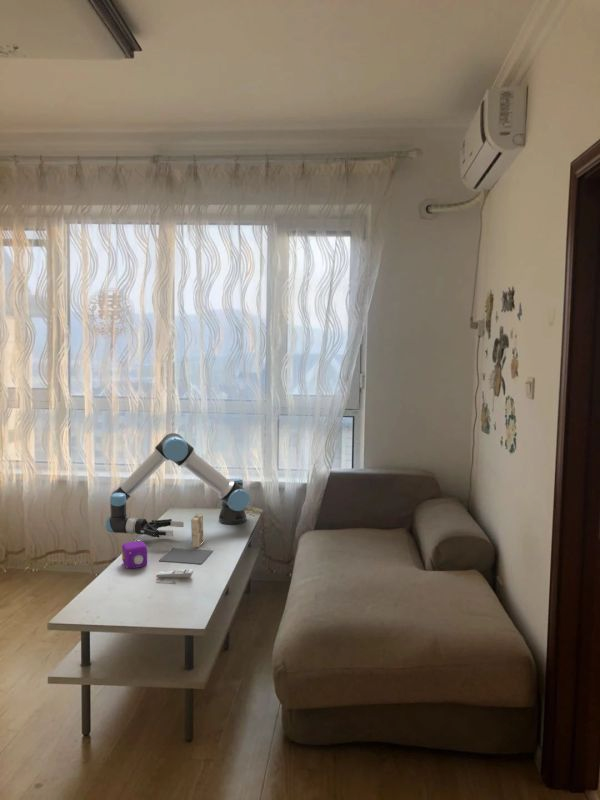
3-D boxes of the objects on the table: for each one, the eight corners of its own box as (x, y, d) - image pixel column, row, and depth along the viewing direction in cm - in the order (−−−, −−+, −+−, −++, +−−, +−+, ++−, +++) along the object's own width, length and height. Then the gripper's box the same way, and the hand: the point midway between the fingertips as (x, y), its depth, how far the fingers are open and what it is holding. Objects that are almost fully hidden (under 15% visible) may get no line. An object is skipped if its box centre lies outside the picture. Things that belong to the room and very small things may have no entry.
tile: (197, 541, 286) (197, 514, 285) (203, 542, 286) (202, 514, 284) (191, 547, 279) (191, 519, 277) (197, 548, 278) (197, 519, 276)
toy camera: (131, 573, 248) (130, 551, 247) (118, 564, 259) (117, 542, 258) (154, 567, 255) (153, 545, 254) (141, 558, 266) (140, 537, 264)
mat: (172, 548, 277) (172, 547, 277) (212, 551, 274) (212, 550, 274) (158, 561, 261) (158, 560, 261) (201, 564, 258) (201, 563, 258)
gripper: (148, 525, 299) (187, 528, 296) (125, 542, 275) (168, 545, 271) (147, 511, 298) (187, 513, 295) (125, 526, 274) (167, 529, 270)
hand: (178, 528), depth 283 cm, fingers open, 13 cm apart
